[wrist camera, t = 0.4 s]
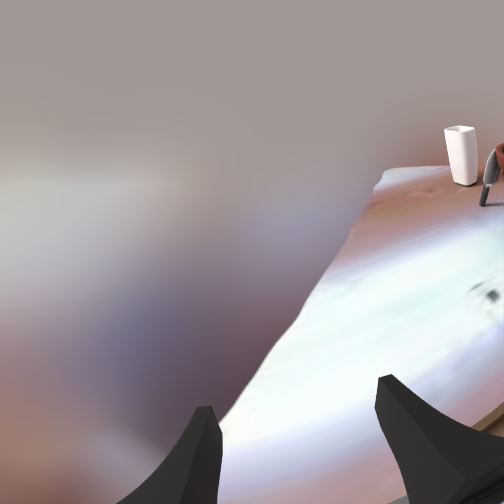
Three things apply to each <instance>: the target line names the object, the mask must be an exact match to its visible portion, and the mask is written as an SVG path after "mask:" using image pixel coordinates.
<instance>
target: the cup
mask: <svg viewBox="0 0 504 504" xmlns="http://www.w3.org/2000/svg"><path fill="white" fill-rule="evenodd" d="M444 131H445V137H446V144H447V149H448V155H449V160H450V166H451V170H452V175H453V179H454V182H456V183H457V184H461V185H464V186H470V185H472V184H473V183H475V182H476V181H477V173H478V156H477V142H476V135H475V128H472V127H465V126H454V127H450V128H447V129H445V130H444Z"/></svg>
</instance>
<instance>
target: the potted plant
mask: <svg viewBox="0 0 504 504" xmlns="http://www.w3.org/2000/svg"><path fill="white" fill-rule="evenodd" d="M500 169H502V170H503V175H504V143H502V144H500V145H498V146H497V147H496V149H494V150H493V152H492V153H491V155H490V156H489V158H488V159H487V163H486V168H485V173H484V177H483V182H484V183H485V184H487V185H486V186H484V188H483V192H482V195H481V199H480V203H479V204H480V205H481V206H485V203H486V199H487V196H488V192H489V187H488V186H494V183H496V182H497V181H498V177H499V173H500Z"/></svg>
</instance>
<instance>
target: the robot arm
mask: <svg viewBox="0 0 504 504" xmlns="http://www.w3.org/2000/svg"><path fill="white" fill-rule="evenodd" d="M375 411H376V414H377V417H378V420H379V423H380V426H381V429H382V431H383V433H384V435H385V437H386V439H387V442H388V444H389V446H390V448H391V450H392V452H393V454H394V456H395V459H396V461H397V463H398V466H399V468H400V471H401V474H402V477H403V481H404V484H405V488H406V492H407V495H408V499H409V504H504V437H500V436H495V435H491V434H488V433H484V432H481V431H478V430H476V429H473V428H470V427H468V426H465V425H463V424H461V423H459V422H457V421H455V420H453V419H451V418H449V417H448V416H446V415H444V414H443V413H441V412H439V411H438V410H436V409H435V408H433V407H432V406H430V405H429V404H428V403H426V402H425V401H424V400H422V399H421V398H420V397H418V396H417V395H416V394H415V393H413V392H412V391H411V390H410V389H408V388H407V387H406V386H405V385H404V384H403V383H401V382H400V381H399V380H398V379H397V378H396V377H394V376H393V375H392V374H390V375H386V376H383V377H379V378H378V387H377V395H376V402H375ZM222 454H223V438H222V431H221V429H220V427H219V424H218V422H217V419H216V417H215V414H214V412H213V409H212V406H205V407H198V408H196V410H195V412H194V414H193V415H192V418H191V419H190V421H189V423H188V425H187V426H186V428H185V430H184V431H183V433H182V435H181V436H180V438H179V439H178V441H177V443H176V444H175V446H174V447H173V449H172V450H171V451H170V453H169V454H168V455H167V457H166V458H165V459H164V461H163V462H162V463H161V464H160V465H159V467H158V468H157V469H156V470H155V471H154V472H153V473H152V474H151V475H150V476H149V477H148V479H146V480H145V481H144V482H143V483H142V484H141V485H140V486H139V487H138V488H137V489H135V490H134V491H133V492H131V493H130V494H129V495H128V496H126V497H125V498H124V499H122V500H121V501H119V502H118V503H116V504H217V495H218V486H219V479H220V471H221V463H222Z"/></svg>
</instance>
